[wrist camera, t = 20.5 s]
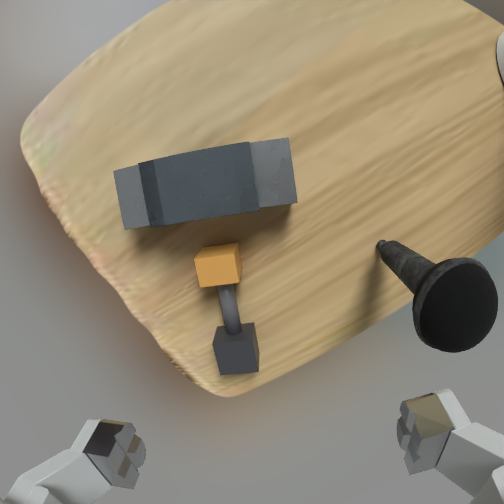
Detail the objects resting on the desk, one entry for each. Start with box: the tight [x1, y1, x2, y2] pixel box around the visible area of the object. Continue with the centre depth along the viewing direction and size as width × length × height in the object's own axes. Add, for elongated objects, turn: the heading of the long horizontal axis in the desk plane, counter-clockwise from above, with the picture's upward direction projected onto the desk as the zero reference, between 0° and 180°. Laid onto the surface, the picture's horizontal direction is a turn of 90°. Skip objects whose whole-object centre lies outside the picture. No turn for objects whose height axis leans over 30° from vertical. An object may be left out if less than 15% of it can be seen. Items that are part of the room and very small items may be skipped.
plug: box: [194, 242, 259, 375], centre depth 35 cm, size 4×14×4 cm, turn 9°
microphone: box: [377, 240, 498, 353], centre depth 25 cm, size 7×7×20 cm
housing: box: [113, 138, 298, 230], centre depth 30 cm, size 17×6×7 cm, turn 99°
